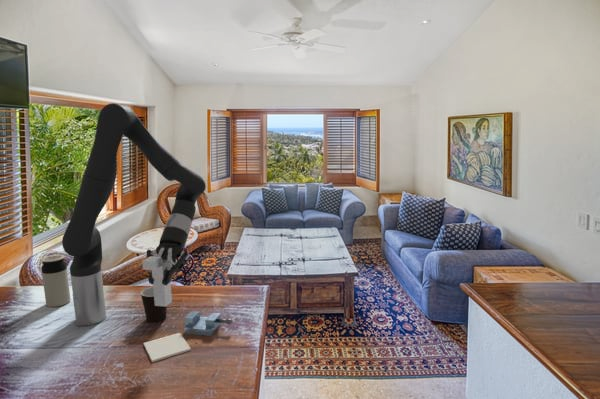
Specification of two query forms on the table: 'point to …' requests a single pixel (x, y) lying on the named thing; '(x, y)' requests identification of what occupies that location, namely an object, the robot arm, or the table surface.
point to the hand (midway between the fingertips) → (158, 283)
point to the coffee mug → (152, 307)
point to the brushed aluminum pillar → (159, 279)
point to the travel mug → (55, 280)
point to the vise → (203, 323)
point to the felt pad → (166, 347)
